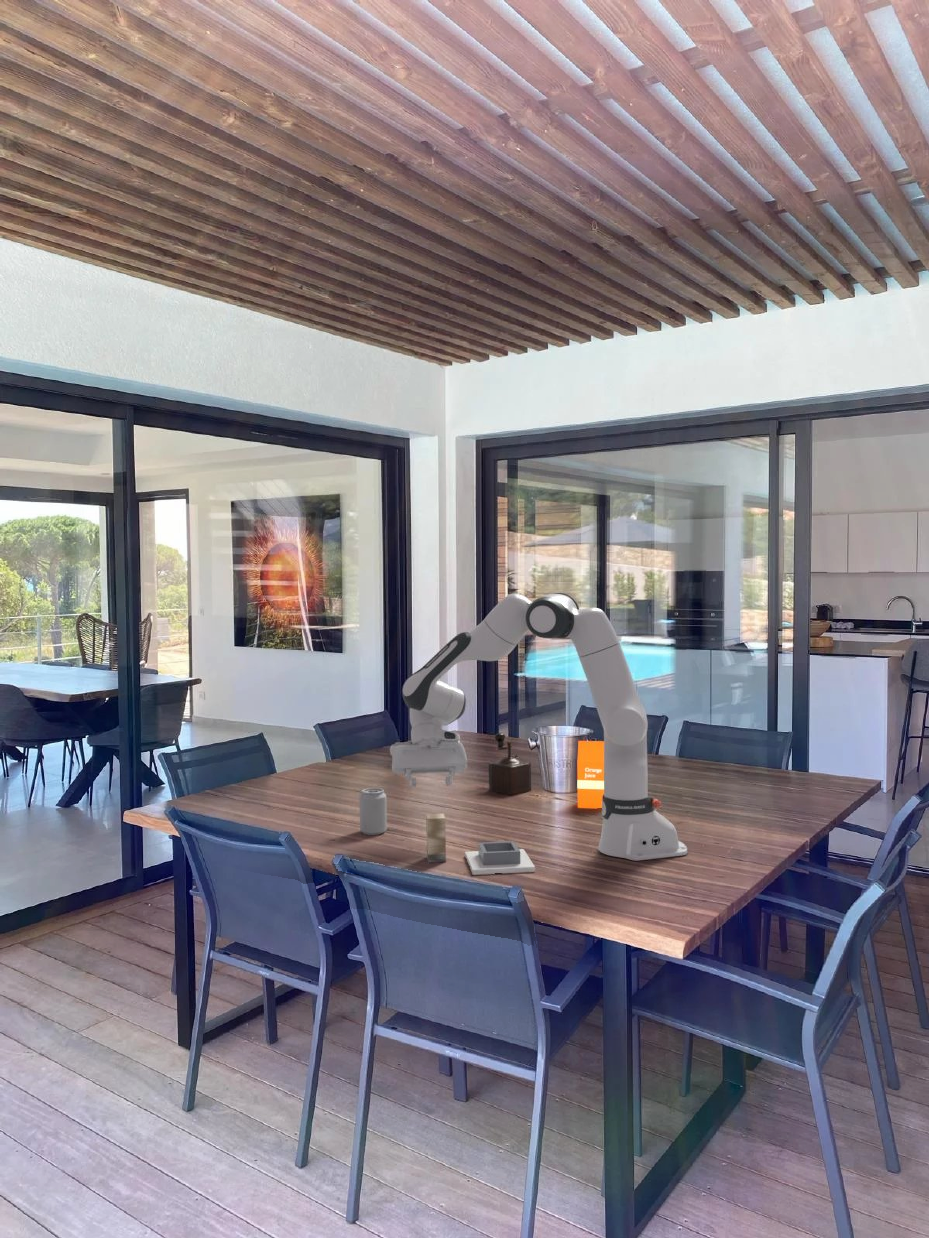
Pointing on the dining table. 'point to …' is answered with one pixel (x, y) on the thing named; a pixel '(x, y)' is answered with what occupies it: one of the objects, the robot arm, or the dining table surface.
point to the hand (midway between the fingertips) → (431, 784)
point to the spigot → (436, 838)
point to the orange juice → (590, 774)
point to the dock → (498, 859)
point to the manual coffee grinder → (509, 772)
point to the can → (373, 811)
